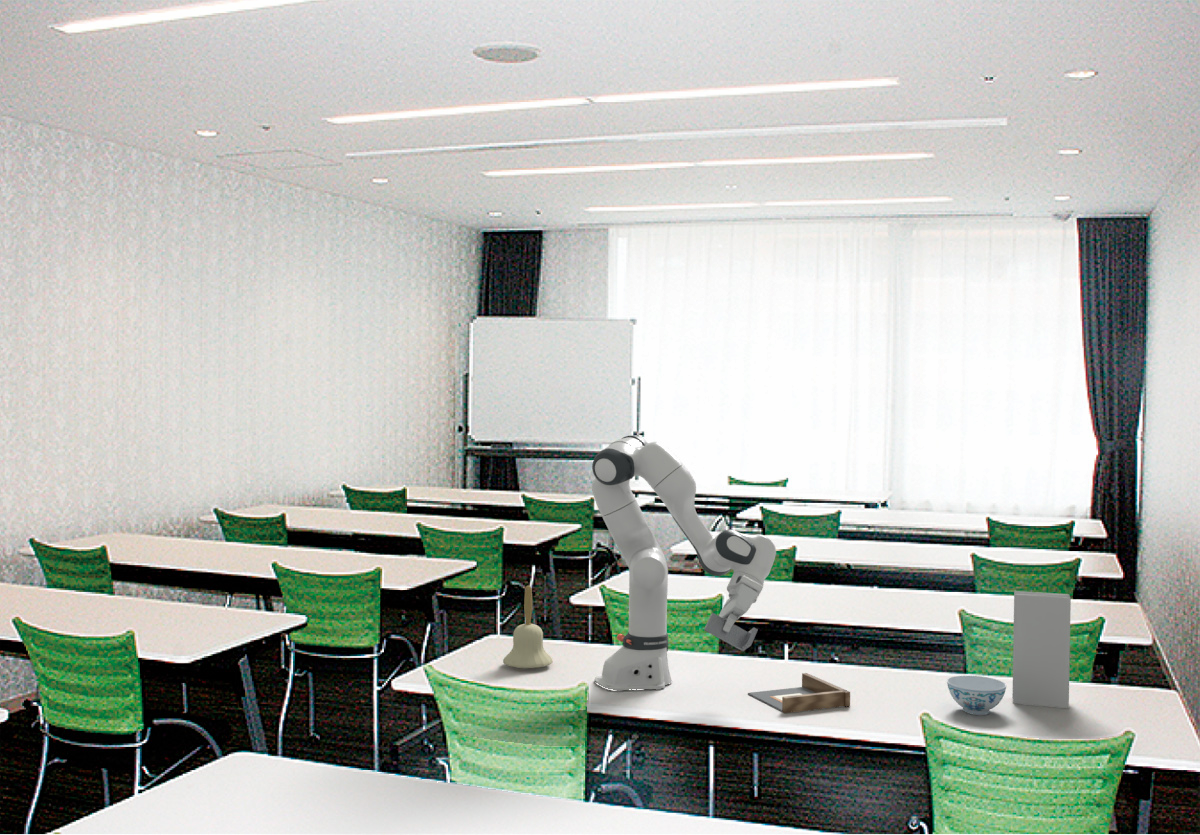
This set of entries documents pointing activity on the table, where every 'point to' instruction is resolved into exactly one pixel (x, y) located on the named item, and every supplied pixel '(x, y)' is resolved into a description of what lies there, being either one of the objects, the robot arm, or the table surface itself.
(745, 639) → the bracket
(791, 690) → the mat
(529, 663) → the handbell
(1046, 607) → the tall grey block
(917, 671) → the table surface
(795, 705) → the brown wooden corner frame
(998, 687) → the chinaware
